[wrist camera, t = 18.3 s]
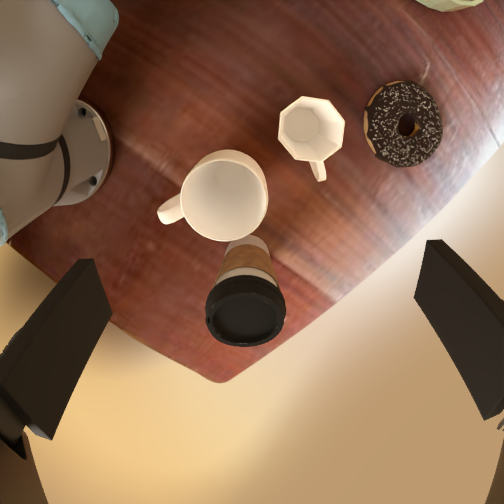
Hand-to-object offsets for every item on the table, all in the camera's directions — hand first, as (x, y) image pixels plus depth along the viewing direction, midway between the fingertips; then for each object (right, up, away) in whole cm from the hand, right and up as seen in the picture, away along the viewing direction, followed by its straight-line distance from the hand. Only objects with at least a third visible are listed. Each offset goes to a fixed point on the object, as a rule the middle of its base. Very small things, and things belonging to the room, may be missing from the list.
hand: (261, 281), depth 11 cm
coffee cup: (-1, +1, +32) cm, 32 cm away
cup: (+6, +16, +24) cm, 30 cm away
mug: (-5, +11, +27) cm, 29 cm away
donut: (+19, +18, +23) cm, 35 cm away
